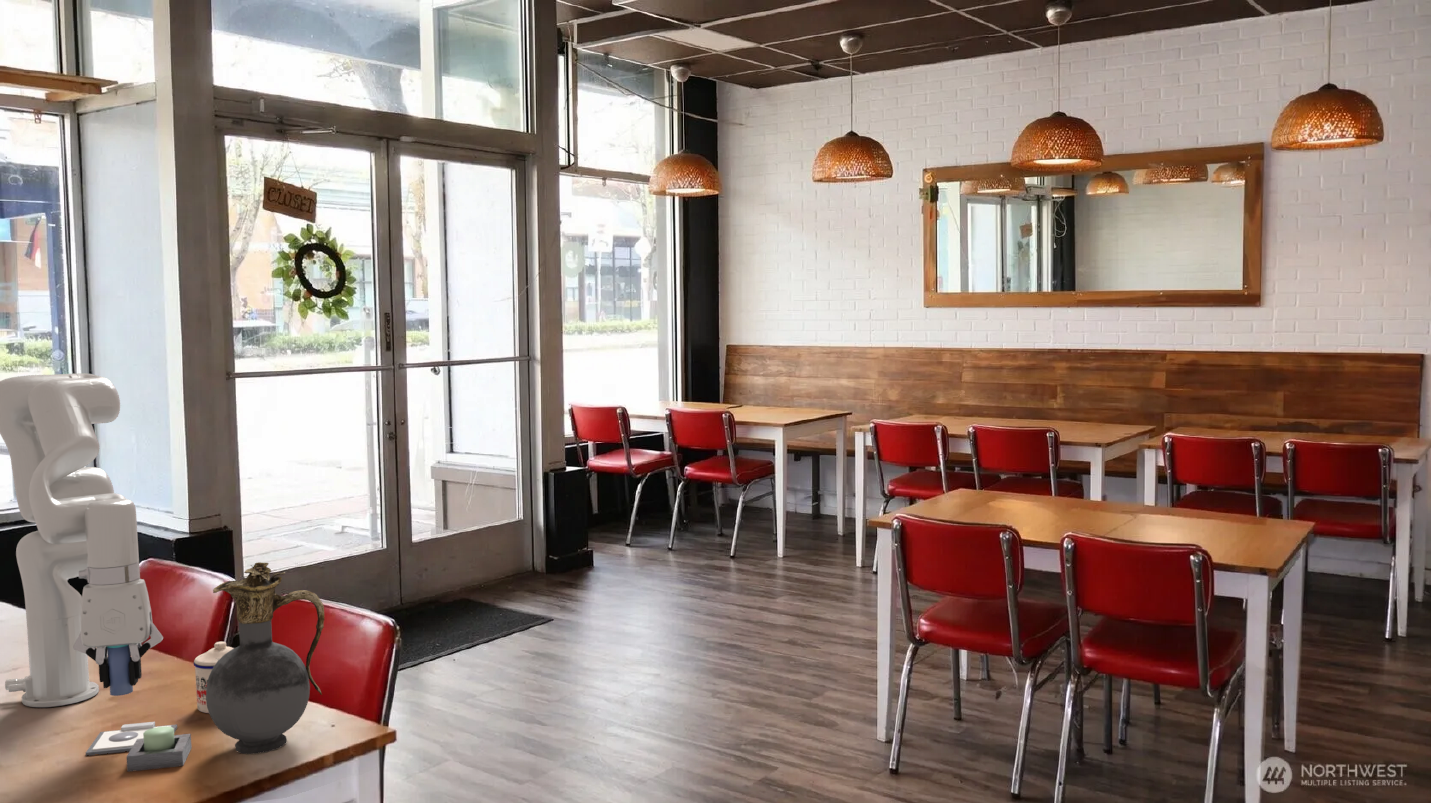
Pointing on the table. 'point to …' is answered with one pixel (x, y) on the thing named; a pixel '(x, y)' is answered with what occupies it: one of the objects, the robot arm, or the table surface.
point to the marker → (119, 670)
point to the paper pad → (121, 738)
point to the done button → (159, 739)
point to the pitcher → (260, 668)
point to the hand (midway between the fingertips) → (121, 683)
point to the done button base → (159, 755)
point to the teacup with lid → (207, 671)
